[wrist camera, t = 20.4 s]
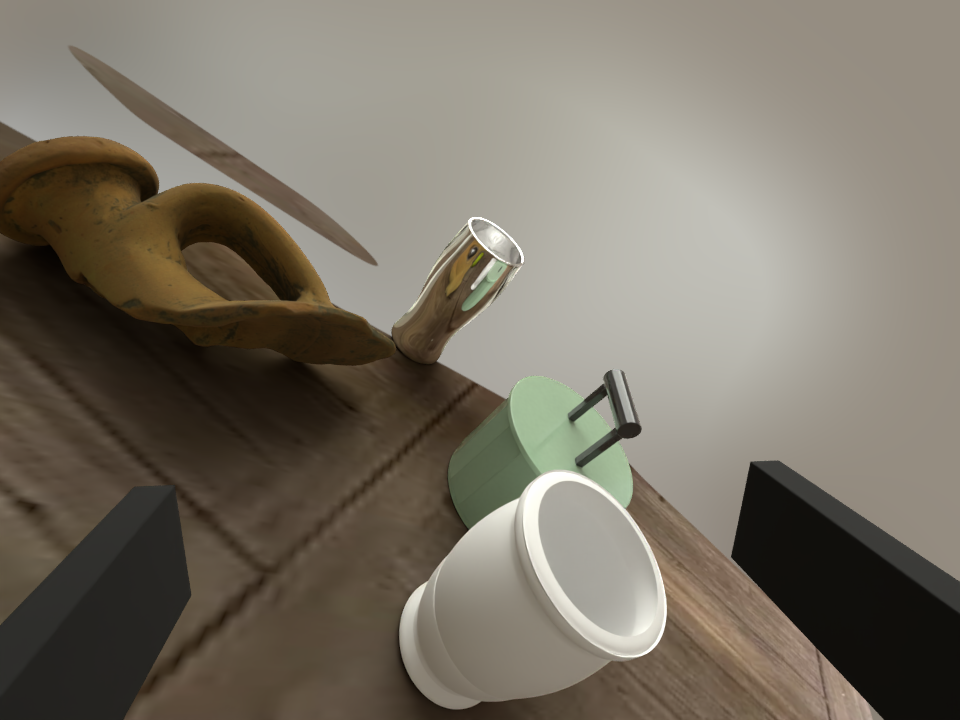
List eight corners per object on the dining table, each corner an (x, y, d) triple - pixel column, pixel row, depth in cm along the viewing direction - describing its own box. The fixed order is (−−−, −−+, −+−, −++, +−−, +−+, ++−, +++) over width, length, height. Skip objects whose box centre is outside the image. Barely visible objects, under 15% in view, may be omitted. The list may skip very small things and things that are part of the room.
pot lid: (504, 483, 36) (576, 425, 32) (500, 359, 46) (554, 304, 42) (638, 544, 41) (715, 500, 37) (608, 420, 51) (665, 375, 47)
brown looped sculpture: (185, 455, 25) (-70, 98, 25) (173, 496, 35) (-10, 240, 35) (437, 311, 37) (263, 67, 37) (375, 373, 47) (237, 180, 47)
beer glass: (374, 325, 53) (453, 215, 45) (414, 314, 59) (491, 214, 51) (416, 375, 52) (504, 271, 44) (453, 358, 58) (537, 264, 50)
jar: (417, 765, 29) (598, 696, 22) (361, 589, 34) (493, 479, 26) (531, 687, 37) (696, 615, 29) (472, 552, 42) (600, 458, 34)
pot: (442, 534, 41) (514, 476, 36) (451, 420, 51) (509, 361, 46) (560, 579, 46) (638, 533, 41) (547, 467, 55) (610, 418, 50)
